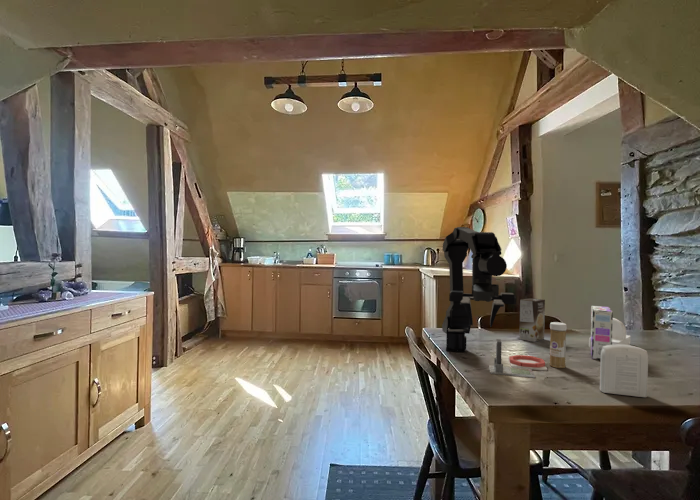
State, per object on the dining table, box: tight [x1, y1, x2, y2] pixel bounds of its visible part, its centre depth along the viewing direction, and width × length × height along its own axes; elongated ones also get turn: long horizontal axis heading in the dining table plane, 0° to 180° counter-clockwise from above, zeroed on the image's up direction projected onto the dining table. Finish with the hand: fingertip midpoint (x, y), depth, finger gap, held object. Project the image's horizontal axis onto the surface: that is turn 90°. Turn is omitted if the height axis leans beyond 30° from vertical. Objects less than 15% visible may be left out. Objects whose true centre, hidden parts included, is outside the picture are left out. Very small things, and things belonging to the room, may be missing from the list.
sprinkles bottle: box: [549, 321, 568, 369], centre depth 126 cm, size 5×5×13 cm
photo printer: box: [599, 344, 649, 398], centre depth 102 cm, size 10×4×12 cm, turn 72°
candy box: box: [590, 305, 614, 361], centre depth 139 cm, size 14×6×16 cm, turn 151°
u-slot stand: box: [588, 317, 631, 348], centre depth 154 cm, size 10×18×11 cm, turn 133°
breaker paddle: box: [495, 338, 503, 364], centre depth 120 cm, size 1×4×8 cm, turn 164°
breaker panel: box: [488, 357, 536, 379], centre depth 119 cm, size 12×7×3 cm, turn 74°
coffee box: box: [518, 297, 546, 343], centre depth 164 cm, size 9×6×16 cm
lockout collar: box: [507, 354, 548, 371], centre depth 127 cm, size 10×10×2 cm
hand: (481, 326), depth 121 cm, fingers open, 5 cm apart
